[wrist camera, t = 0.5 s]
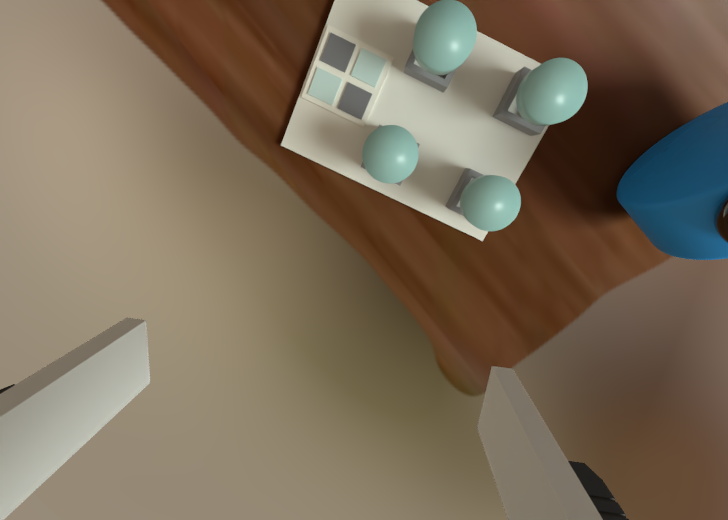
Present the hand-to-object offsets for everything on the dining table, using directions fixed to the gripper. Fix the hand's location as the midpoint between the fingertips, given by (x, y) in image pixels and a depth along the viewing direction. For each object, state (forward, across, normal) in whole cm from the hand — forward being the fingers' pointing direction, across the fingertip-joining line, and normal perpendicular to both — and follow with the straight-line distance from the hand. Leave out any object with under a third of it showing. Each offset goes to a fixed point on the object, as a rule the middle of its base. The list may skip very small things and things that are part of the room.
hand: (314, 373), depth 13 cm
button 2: (+21, +2, +8) cm, 23 cm away
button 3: (+21, +13, +14) cm, 29 cm away
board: (+25, +4, +12) cm, 28 cm away
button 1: (+21, +5, +17) cm, 28 cm away
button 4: (+21, +10, +6) cm, 24 cm away
